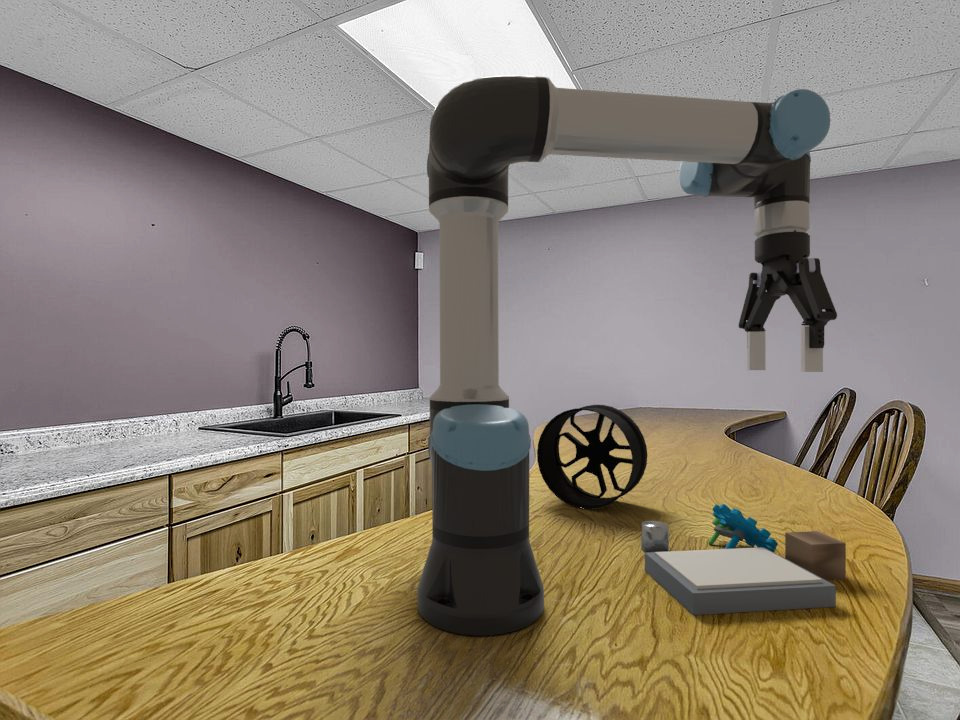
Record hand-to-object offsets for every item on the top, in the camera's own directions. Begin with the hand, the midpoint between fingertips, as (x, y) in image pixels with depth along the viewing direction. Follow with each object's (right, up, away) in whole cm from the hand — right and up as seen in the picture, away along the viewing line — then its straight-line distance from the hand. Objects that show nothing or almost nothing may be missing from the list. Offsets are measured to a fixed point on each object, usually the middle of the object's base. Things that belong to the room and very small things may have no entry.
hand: (781, 371), depth 82 cm
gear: (-7, -28, -1) cm, 29 cm away
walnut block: (-1, -28, -10) cm, 29 cm away
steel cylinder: (-20, -28, -1) cm, 34 cm away
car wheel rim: (-24, -28, +26) cm, 45 cm away
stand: (-15, -28, -14) cm, 34 cm away
